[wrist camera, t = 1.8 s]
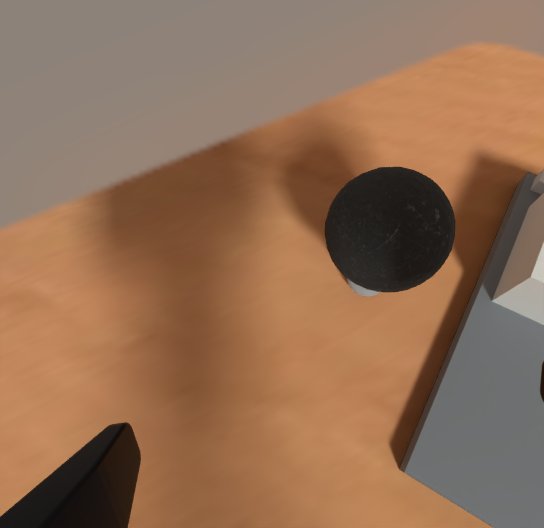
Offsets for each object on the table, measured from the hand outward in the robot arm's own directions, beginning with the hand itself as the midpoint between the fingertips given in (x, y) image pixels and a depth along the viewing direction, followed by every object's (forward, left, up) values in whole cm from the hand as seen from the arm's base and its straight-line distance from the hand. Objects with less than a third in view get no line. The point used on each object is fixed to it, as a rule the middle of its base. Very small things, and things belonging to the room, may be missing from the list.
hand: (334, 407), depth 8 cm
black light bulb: (+5, -6, -14) cm, 16 cm away
